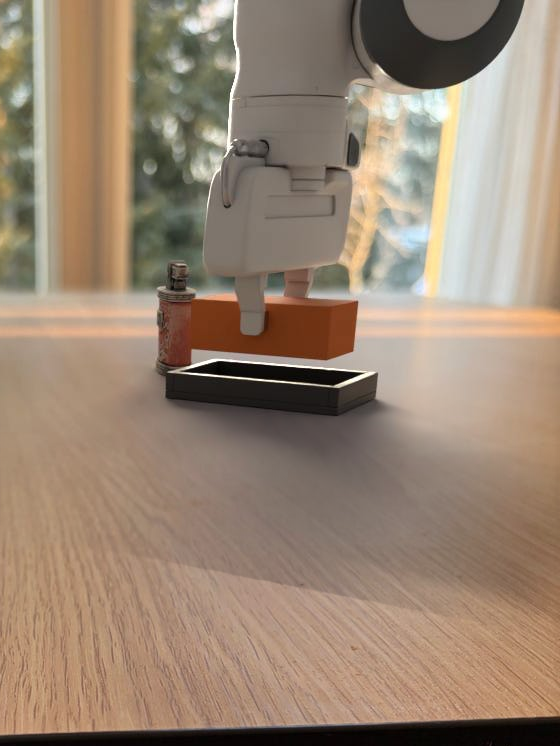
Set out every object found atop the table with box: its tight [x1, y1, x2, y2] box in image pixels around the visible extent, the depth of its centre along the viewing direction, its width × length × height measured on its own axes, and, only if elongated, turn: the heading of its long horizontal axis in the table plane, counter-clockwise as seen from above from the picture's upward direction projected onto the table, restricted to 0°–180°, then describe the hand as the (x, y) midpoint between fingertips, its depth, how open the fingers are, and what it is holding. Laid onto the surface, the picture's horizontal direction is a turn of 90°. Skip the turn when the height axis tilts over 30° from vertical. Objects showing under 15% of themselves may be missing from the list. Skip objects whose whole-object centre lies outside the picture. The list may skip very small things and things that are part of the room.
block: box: [190, 293, 359, 361], centre depth 86 cm, size 12×6×4 cm, turn 57°
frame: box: [164, 358, 379, 416], centre depth 88 cm, size 15×9×2 cm, turn 57°
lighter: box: [155, 260, 197, 376], centre depth 100 cm, size 8×3×10 cm, turn 4°
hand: (272, 329), depth 86 cm, fingers closed on block, 6 cm apart
